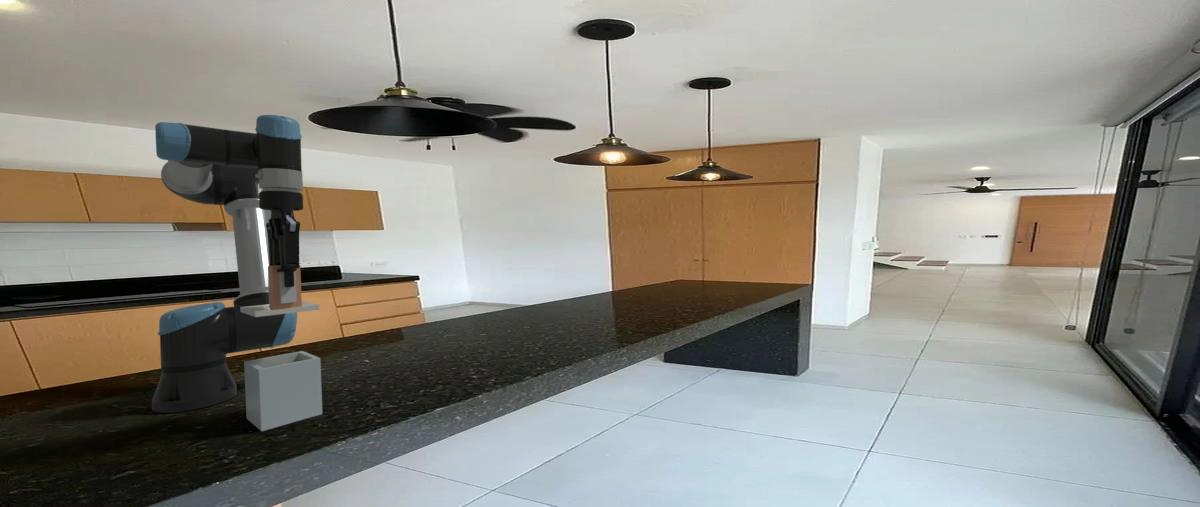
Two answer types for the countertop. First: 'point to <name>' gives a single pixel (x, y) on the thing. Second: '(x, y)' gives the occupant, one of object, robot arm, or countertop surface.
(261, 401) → the tub
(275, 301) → the lid
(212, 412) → the countertop surface
